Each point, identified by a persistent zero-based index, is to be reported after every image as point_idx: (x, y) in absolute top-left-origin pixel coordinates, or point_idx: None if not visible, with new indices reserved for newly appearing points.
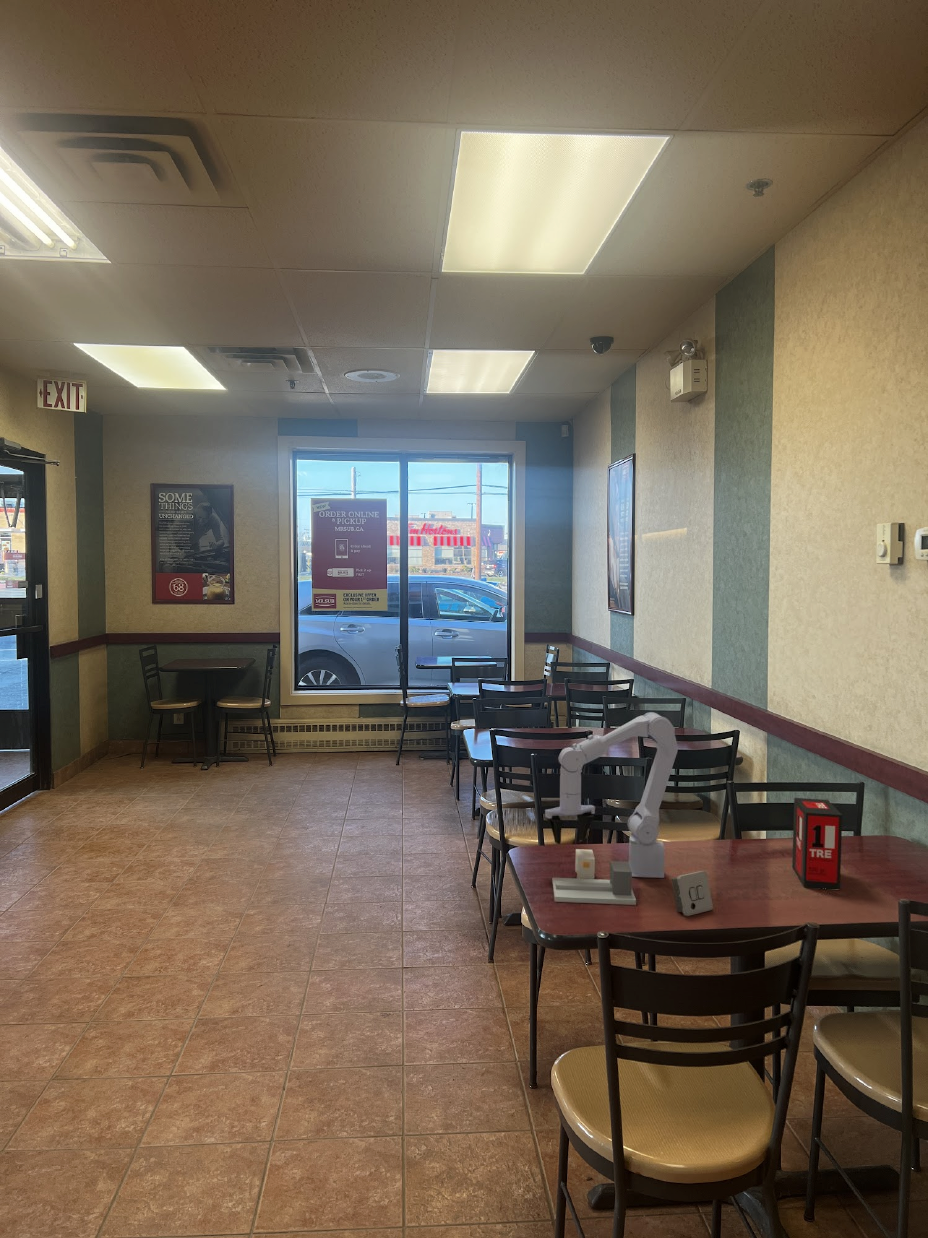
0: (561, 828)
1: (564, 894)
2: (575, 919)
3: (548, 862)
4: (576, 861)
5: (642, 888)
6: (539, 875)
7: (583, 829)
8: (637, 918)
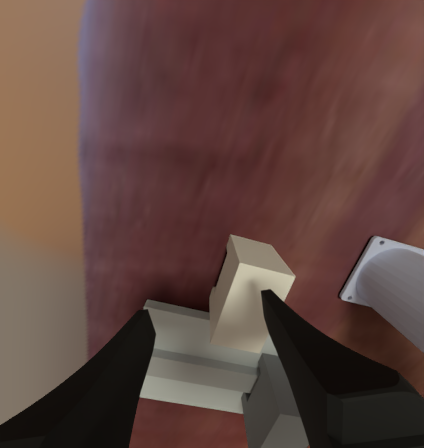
0: (130, 435)
1: (146, 387)
2: (146, 437)
3: (175, 151)
4: (223, 283)
5: None
6: (124, 253)
7: (285, 367)
8: (243, 442)
